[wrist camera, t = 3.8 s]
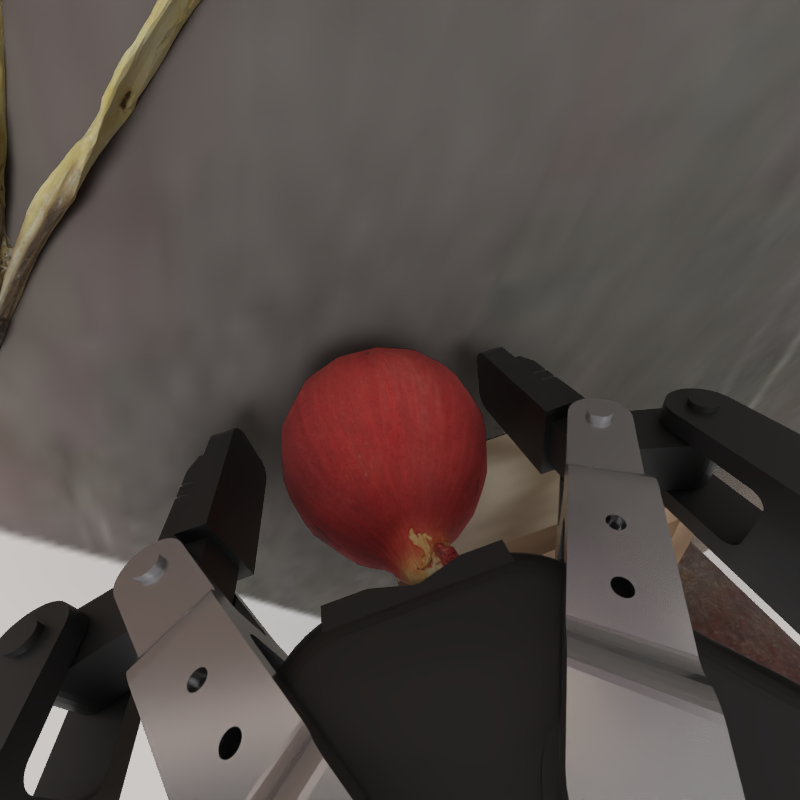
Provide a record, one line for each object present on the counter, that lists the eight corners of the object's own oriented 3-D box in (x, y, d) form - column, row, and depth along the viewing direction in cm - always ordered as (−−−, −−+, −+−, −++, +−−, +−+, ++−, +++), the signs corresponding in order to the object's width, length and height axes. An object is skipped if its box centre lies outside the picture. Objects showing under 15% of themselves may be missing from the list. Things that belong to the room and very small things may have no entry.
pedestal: (600, 402, 16) (720, 487, 12) (575, 534, 23) (645, 622, 18) (373, 478, 15) (403, 606, 11) (417, 593, 22) (447, 702, 17)
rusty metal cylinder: (604, 579, 29) (989, 1081, 13) (563, 564, 25) (1033, 1242, 9) (678, 527, 27) (1260, 1052, 10) (645, 502, 23) (1463, 1248, 7)
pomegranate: (420, 443, 15) (509, 638, 8) (288, 446, 13) (270, 693, 7) (451, 320, 12) (623, 472, 5) (287, 304, 10) (253, 495, 4)
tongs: (-54, 329, 9) (-132, 356, 8) (24, -357, 5) (-102, -616, 4) (124, 385, 11) (93, 415, 10) (277, -85, 7) (272, -172, 6)
